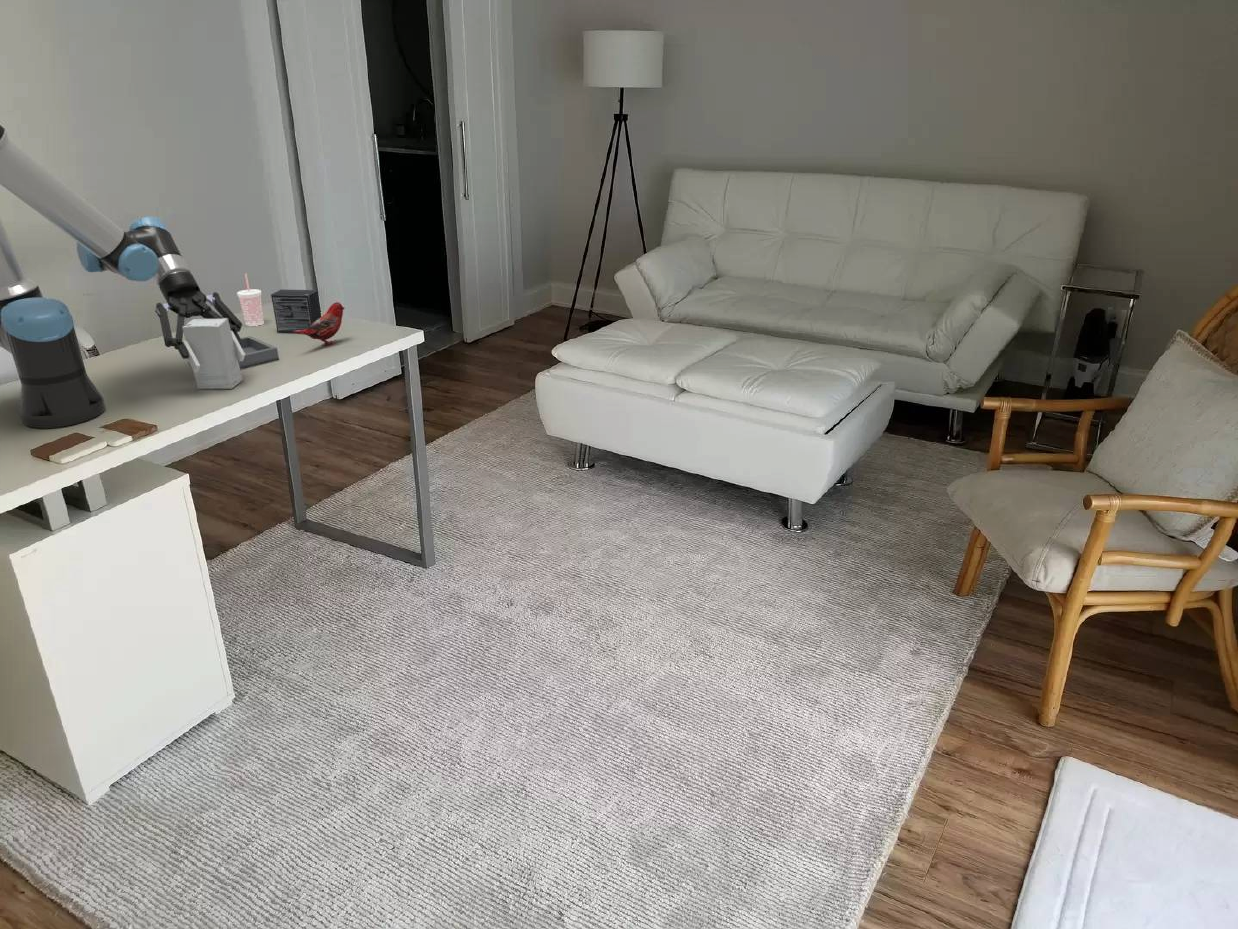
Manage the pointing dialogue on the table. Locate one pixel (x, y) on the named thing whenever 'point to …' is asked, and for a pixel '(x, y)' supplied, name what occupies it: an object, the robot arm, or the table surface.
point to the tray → (257, 352)
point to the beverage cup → (251, 305)
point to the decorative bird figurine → (325, 325)
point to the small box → (295, 309)
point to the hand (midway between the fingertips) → (220, 363)
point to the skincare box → (213, 353)
